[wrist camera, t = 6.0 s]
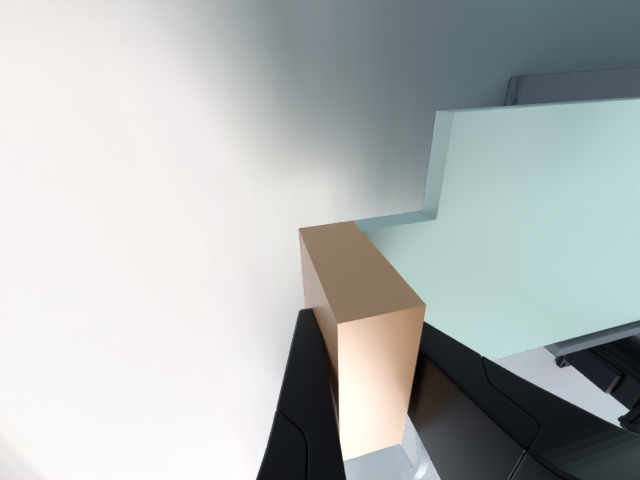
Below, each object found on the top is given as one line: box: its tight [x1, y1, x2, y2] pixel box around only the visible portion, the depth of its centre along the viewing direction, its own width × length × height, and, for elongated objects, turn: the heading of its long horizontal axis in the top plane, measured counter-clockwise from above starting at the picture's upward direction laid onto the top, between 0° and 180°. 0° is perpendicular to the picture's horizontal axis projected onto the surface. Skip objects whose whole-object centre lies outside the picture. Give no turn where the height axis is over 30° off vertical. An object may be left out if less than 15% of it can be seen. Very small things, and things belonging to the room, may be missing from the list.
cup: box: [344, 424, 430, 480], centre depth 21 cm, size 7×10×8 cm
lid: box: [299, 97, 640, 461], centre depth 10 cm, size 18×11×4 cm, turn 93°
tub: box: [504, 67, 640, 357], centre depth 16 cm, size 14×13×7 cm
